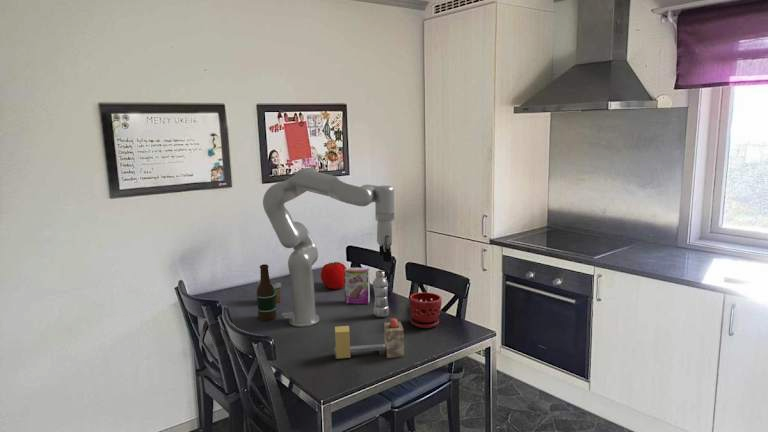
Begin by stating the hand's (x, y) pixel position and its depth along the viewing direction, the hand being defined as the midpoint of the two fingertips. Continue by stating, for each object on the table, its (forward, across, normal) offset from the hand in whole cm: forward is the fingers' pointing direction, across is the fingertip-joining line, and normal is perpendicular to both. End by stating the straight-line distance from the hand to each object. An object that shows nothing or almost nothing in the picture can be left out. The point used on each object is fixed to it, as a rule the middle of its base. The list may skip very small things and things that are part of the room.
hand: (385, 258), depth 205 cm
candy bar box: (+29, -29, -9) cm, 41 cm away
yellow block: (+28, +26, -20) cm, 43 cm away
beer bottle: (+29, -17, -49) cm, 60 cm away
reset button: (+20, +27, -1) cm, 33 cm away
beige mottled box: (+28, +27, -1) cm, 39 cm away
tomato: (+29, -54, -18) cm, 64 cm away
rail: (+28, +26, -13) cm, 41 cm away
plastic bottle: (+28, -9, 0) cm, 30 cm away
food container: (+29, -37, -50) cm, 69 cm away
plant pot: (+28, +3, +16) cm, 33 cm away
